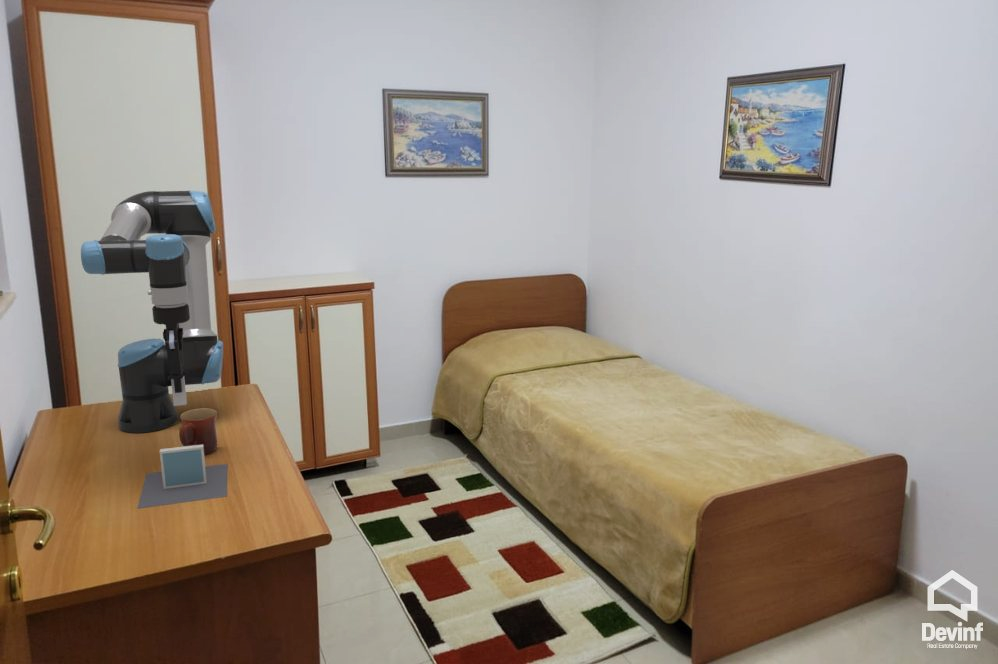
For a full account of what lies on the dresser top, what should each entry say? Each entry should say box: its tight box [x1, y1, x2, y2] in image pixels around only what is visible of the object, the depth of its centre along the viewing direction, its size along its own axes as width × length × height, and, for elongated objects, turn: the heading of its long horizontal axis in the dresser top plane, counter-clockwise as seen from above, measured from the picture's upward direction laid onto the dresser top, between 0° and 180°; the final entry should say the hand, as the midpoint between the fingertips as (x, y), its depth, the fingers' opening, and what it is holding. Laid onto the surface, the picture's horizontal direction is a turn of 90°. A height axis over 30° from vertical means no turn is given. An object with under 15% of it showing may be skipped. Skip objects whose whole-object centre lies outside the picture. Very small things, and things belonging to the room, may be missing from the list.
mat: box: [137, 463, 229, 509], centre depth 166 cm, size 18×18×1 cm
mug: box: [178, 407, 218, 456], centre depth 182 cm, size 12×9×10 cm
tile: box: [159, 444, 207, 489], centre depth 165 cm, size 2×9×9 cm, turn 110°
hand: (180, 404), depth 168 cm, fingers closed
